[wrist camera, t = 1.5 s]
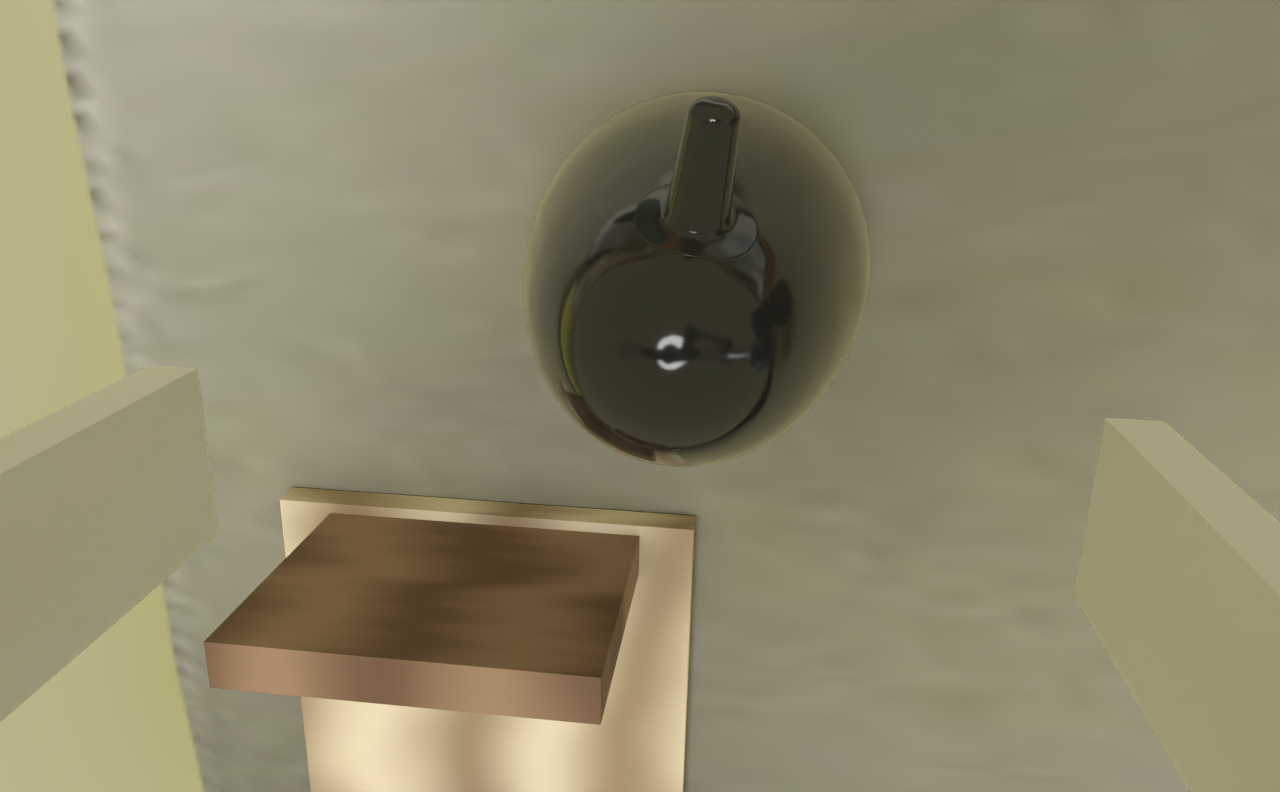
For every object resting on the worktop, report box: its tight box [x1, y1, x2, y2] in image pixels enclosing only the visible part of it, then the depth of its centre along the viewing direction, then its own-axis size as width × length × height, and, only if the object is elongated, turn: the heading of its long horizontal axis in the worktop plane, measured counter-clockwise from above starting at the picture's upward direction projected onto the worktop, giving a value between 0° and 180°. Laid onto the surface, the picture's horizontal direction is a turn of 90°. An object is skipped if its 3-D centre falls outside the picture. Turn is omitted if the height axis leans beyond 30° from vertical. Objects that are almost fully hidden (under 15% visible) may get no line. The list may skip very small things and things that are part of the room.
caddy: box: [204, 487, 696, 792], centre depth 36 cm, size 16×17×10 cm
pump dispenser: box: [523, 92, 871, 467], centre depth 27 cm, size 10×10×15 cm
